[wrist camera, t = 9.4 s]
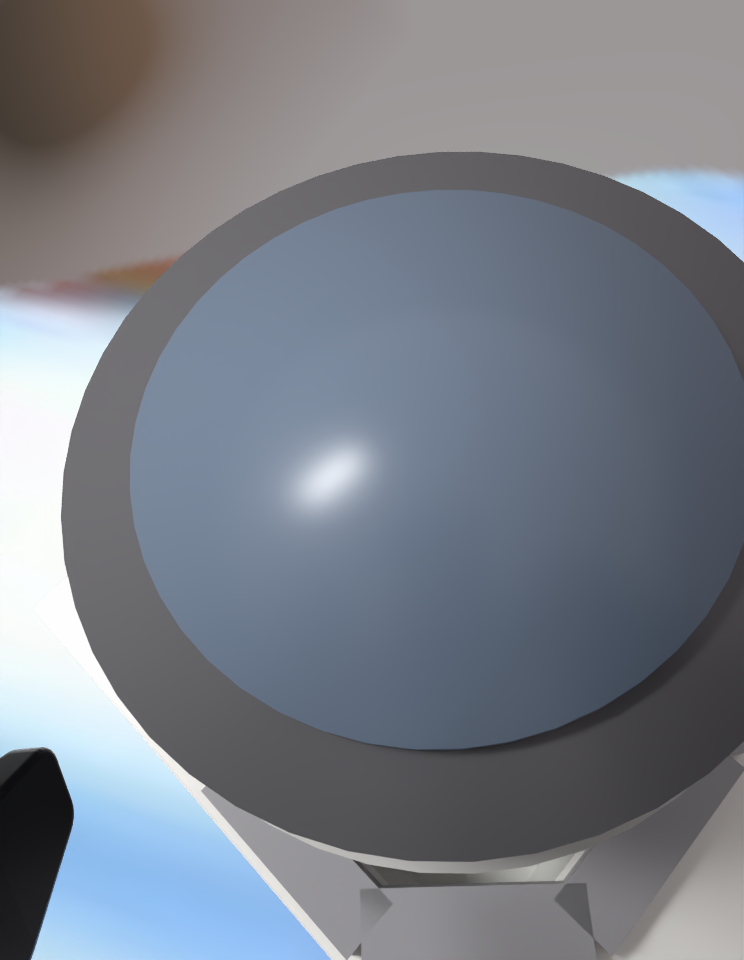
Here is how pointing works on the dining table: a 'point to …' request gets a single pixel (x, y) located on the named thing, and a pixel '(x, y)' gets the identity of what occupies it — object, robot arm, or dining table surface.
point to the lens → (426, 510)
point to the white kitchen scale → (500, 876)
